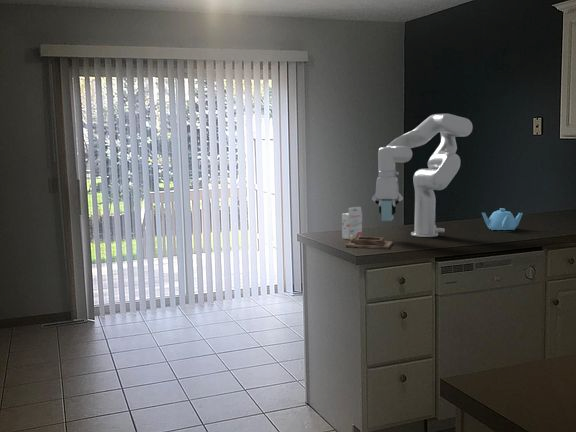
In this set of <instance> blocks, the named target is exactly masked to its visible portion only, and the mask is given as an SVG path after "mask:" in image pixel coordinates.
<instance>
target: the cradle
mask: <svg viewBox="0 0 576 432" xmlns="http://www.w3.org/2000/svg"><path fill="white" fill-rule="evenodd" d="M392 245H393V241H391V240H385V237H382V236H363V235H362V236H358V237H357V238H355V239H354V235H351V236H350V239H349V242H348V243H346V244H345V248H354V247H358V248H361V249H377V250H378V249H382V250H388V249H390V248H391V246H392Z"/></svg>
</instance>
